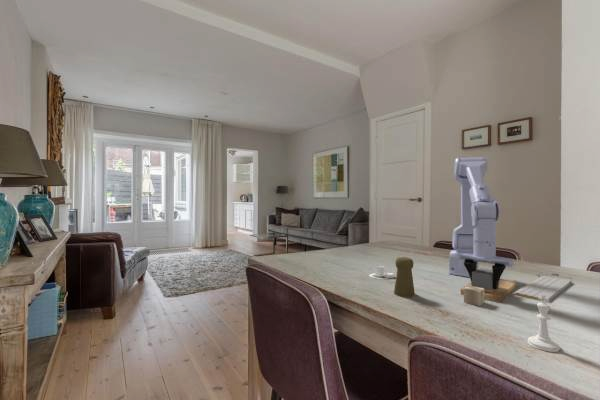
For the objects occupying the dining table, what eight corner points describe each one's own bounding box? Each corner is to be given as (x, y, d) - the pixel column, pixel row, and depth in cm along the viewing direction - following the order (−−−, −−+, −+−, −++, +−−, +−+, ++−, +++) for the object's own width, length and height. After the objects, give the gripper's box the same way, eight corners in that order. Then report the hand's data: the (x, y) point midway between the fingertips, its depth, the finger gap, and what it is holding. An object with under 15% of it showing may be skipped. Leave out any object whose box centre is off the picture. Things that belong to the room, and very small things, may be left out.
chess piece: (550, 354, 55) (551, 300, 55) (522, 342, 59) (522, 292, 59) (565, 348, 57) (565, 297, 57) (536, 337, 61) (536, 289, 61)
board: (460, 294, 89) (460, 289, 89) (482, 280, 104) (482, 275, 104) (499, 302, 82) (499, 297, 82) (516, 286, 97) (516, 281, 97)
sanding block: (471, 288, 89) (471, 272, 89) (480, 283, 95) (480, 268, 95) (490, 292, 85) (491, 275, 85) (499, 287, 91) (499, 270, 91)
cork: (389, 292, 91) (389, 256, 91) (404, 289, 94) (404, 255, 94) (403, 298, 86) (403, 260, 86) (419, 295, 88) (419, 258, 88)
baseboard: (505, 295, 90) (547, 304, 82) (506, 285, 90) (547, 294, 82) (535, 278, 109) (571, 284, 101) (535, 270, 109) (571, 276, 101)
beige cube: (468, 299, 85) (463, 302, 82) (468, 285, 85) (463, 288, 82) (484, 302, 82) (480, 306, 79) (484, 288, 82) (480, 291, 79)
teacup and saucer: (397, 278, 108) (397, 267, 108) (383, 282, 104) (383, 270, 104) (379, 273, 115) (379, 263, 115) (364, 276, 111) (364, 265, 111)
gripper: (453, 240, 91) (453, 284, 91) (510, 245, 81) (510, 295, 81) (461, 238, 96) (461, 279, 96) (516, 243, 86) (515, 289, 86)
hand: (484, 286), depth 89 cm, fingers closed on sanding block, 5 cm apart
